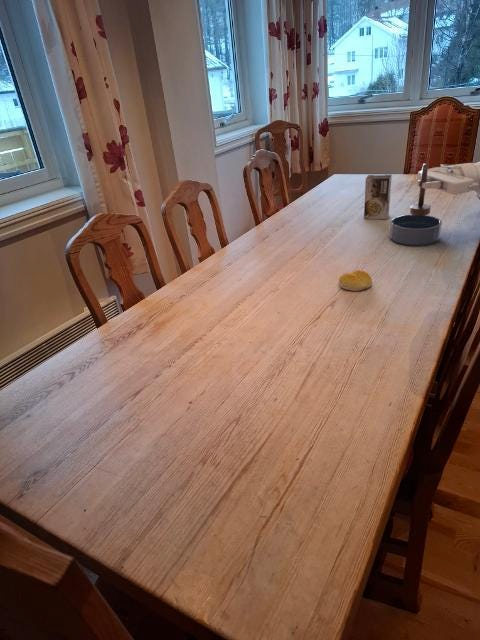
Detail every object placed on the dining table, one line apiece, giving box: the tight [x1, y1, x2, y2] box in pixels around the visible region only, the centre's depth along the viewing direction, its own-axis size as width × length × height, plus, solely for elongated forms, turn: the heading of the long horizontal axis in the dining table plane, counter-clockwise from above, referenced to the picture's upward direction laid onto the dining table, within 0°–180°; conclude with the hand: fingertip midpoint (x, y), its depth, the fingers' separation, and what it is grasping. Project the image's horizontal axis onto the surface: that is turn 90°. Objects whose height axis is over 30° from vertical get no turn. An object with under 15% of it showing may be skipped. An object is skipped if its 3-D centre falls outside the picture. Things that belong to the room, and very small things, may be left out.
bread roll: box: [338, 269, 373, 292], centre depth 121 cm, size 8×9×4 cm
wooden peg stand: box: [409, 163, 431, 216], centre depth 135 cm, size 6×6×15 cm
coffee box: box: [363, 173, 393, 220], centre depth 170 cm, size 9×6×16 cm
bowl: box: [389, 213, 443, 247], centre depth 148 cm, size 16×16×6 cm
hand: (420, 184), depth 135 cm, fingers closed on wooden peg stand
